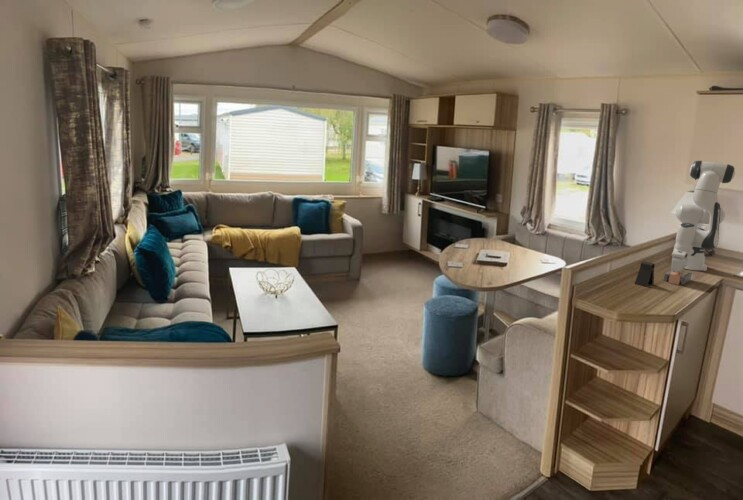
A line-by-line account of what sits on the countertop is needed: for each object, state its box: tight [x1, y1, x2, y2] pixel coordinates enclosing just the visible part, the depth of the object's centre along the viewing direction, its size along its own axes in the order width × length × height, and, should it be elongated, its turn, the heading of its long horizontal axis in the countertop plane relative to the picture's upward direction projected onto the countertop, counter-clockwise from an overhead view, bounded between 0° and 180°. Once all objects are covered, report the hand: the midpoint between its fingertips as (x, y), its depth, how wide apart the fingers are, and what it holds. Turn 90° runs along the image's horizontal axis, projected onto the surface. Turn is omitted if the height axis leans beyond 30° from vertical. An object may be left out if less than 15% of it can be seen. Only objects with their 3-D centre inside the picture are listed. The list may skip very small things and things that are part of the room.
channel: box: [663, 270, 693, 285], centre depth 313 cm, size 16×10×4 cm, turn 138°
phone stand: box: [634, 260, 655, 287], centre depth 299 cm, size 9×6×12 cm, turn 127°
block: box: [667, 271, 683, 286], centre depth 308 cm, size 8×5×5 cm, turn 145°
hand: (677, 276), depth 312 cm, fingers closed
